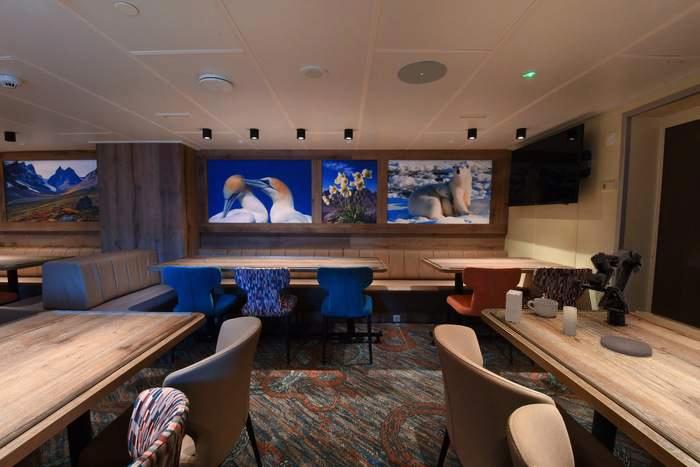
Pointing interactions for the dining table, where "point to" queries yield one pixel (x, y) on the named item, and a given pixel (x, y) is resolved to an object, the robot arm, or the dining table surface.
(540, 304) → the teacup
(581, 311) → the dining table surface
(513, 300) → the skincare box
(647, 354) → the grey-brown round disc
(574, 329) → the canister
